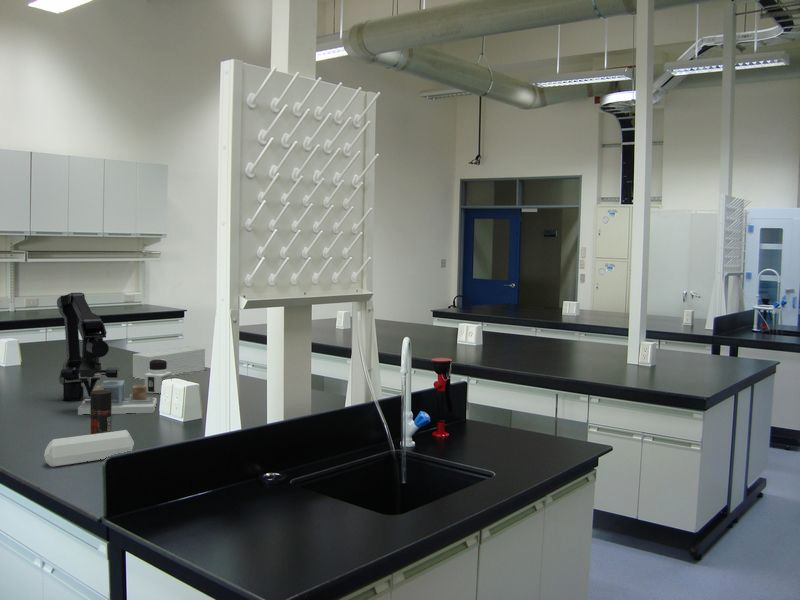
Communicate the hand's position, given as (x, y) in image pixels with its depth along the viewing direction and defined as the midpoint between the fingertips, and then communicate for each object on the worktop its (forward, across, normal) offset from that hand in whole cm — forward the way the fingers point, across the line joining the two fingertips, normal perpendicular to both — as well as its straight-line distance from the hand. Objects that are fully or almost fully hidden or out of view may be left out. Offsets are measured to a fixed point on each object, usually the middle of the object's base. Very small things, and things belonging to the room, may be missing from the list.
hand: (89, 396), depth 258 cm
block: (+1, +17, 0) cm, 17 cm away
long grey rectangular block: (+5, +24, +66) cm, 71 cm away
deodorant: (+5, +10, -40) cm, 41 cm away
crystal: (+5, +10, -59) cm, 60 cm away
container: (+5, +21, +29) cm, 36 cm away
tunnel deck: (+5, +10, 0) cm, 11 cm away
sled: (+2, +12, 0) cm, 12 cm away
